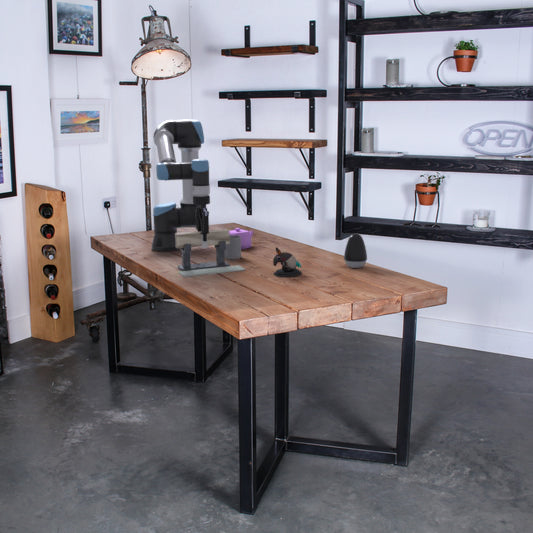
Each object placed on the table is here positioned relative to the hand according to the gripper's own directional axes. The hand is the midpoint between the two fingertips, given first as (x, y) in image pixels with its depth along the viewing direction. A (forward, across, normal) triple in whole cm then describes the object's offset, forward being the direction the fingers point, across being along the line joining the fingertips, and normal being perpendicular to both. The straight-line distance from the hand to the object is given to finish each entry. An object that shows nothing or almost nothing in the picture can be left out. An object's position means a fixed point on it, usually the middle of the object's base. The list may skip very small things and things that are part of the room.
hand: (203, 247), depth 287 cm
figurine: (+9, +27, +29) cm, 41 cm away
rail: (-1, 0, 0) cm, 1 cm away
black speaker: (+9, +28, +62) cm, 69 cm away
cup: (+10, -15, +19) cm, 26 cm away
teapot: (+10, -36, +30) cm, 48 cm away
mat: (+9, +9, +1) cm, 13 cm away
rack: (+9, 0, 0) cm, 9 cm away
